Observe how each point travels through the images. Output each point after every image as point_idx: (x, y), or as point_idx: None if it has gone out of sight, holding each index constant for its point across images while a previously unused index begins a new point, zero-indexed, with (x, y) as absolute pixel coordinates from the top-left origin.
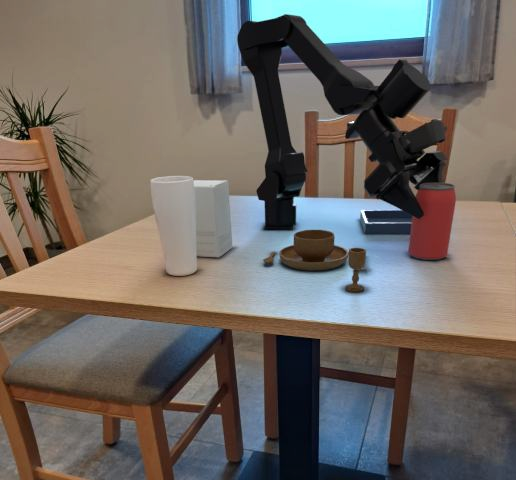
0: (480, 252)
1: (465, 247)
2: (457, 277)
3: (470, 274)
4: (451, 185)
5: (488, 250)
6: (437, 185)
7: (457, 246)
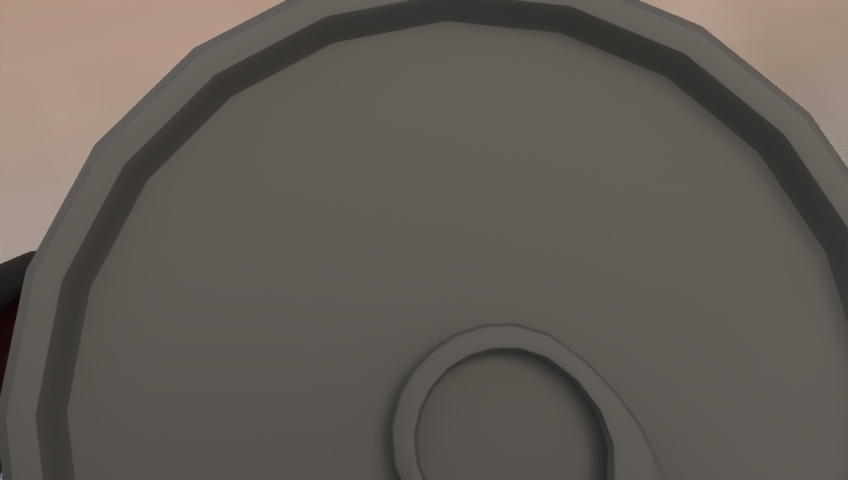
0: (150, 47)
1: (50, 172)
2: (817, 62)
3: (710, 6)
4: (227, 87)
5: (69, 7)
6: (428, 392)
7: (44, 235)
